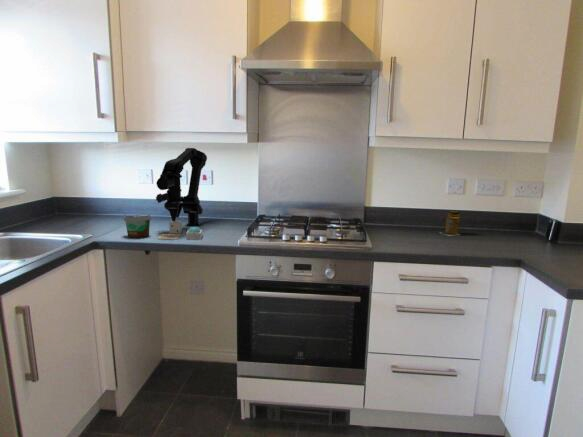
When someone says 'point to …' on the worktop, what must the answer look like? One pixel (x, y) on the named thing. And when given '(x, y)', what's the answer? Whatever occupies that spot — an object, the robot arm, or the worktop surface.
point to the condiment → (452, 224)
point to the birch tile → (169, 236)
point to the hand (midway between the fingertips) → (175, 219)
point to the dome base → (194, 235)
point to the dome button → (194, 230)
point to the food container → (137, 226)
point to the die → (175, 226)
